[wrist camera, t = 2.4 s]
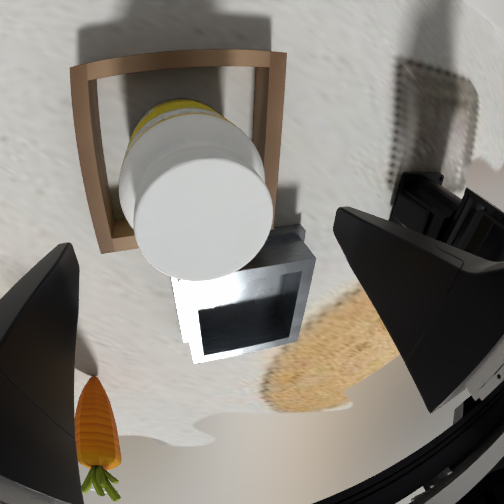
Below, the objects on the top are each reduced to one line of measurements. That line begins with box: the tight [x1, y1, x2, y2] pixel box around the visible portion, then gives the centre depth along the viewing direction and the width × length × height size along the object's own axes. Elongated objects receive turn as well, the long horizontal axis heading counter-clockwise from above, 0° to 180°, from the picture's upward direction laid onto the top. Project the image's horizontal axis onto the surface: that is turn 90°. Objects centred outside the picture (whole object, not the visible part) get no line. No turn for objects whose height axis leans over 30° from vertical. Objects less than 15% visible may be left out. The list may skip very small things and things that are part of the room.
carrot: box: [75, 376, 121, 501], centre depth 23 cm, size 5×5×15 cm
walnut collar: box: [70, 49, 287, 254], centre depth 17 cm, size 12×12×2 cm
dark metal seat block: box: [171, 224, 316, 364], centre depth 25 cm, size 11×11×4 cm
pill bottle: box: [119, 98, 273, 282], centre depth 14 cm, size 6×6×11 cm
